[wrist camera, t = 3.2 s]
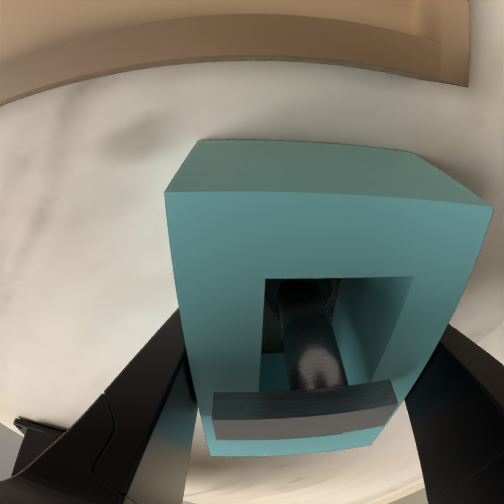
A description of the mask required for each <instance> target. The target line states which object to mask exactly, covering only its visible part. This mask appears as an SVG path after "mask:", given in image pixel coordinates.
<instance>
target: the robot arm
mask: <svg viewBox="0 0 504 504" xmlns="http://www.w3.org/2000/svg"><path fill="white" fill-rule="evenodd" d="M404 400H405V403H406V407H407V411H408V414H409V418H410V422H411V426H412V430H413V434H414V438H415V442H416V446H417V451H418V455H419V460H420V464H421V469H422V474H423V479H424V484H425V489H426V494H427V500H428V504H504V366H503V364H502V363H500V362H499V361H498V360H496V359H495V358H494V357H493V356H491V355H490V354H489V353H487V352H486V351H485V350H483V349H482V348H481V347H479V346H478V345H477V344H475V343H474V342H473V341H471V340H470V339H469V338H467V337H466V336H465V335H463V334H462V333H461V332H459V331H458V330H457V329H455V328H454V327H452V326H451V325H450V324H448V325H447V327H446V329H445V331H444V333H443V335H442V337H441V338H440V340H439V342H438V344H437V346H436V348H435V349H434V351H433V353H432V355H431V357H430V358H429V360H428V362H427V363H426V365H425V367H424V368H423V370H422V372H421V373H420V375H419V377H418V378H417V380H416V382H415V383H414V385H413V386H412V388H411V389H410V391H409V392H408V394H407V396H406V397H405V399H404ZM197 411H198V403H197V398H196V394H195V389H194V385H193V380H192V375H191V370H190V365H189V360H188V355H187V350H186V345H185V339H184V334H183V328H182V322H181V317H180V311H179V308H178V309H177V310H176V311H175V312H174V313H173V314H172V315H171V317H170V318H169V319H168V320H167V321H166V322H165V323H164V324H163V325H162V327H161V328H160V329H159V330H158V331H157V332H156V333H155V334H154V335H153V337H152V338H151V339H150V340H149V341H148V342H147V343H146V344H145V346H144V347H143V348H142V349H141V350H140V351H139V352H138V353H137V355H136V356H135V357H134V358H133V359H132V360H131V361H130V362H129V364H128V365H127V366H126V367H125V368H124V369H123V370H122V371H121V373H120V374H119V375H118V376H117V377H116V378H115V379H114V380H113V382H112V383H111V384H110V385H109V386H108V387H107V388H106V390H105V391H104V394H101V395H100V396H99V397H98V399H97V400H96V401H95V402H94V403H93V404H92V405H91V406H90V407H89V409H88V410H87V411H86V412H85V413H84V414H83V415H82V416H81V417H80V418H79V419H78V420H77V421H76V422H75V423H74V424H73V425H72V426H71V427H70V428H69V429H68V430H67V431H66V432H65V433H64V432H60V431H56V430H52V429H49V428H45V427H42V426H39V425H35V424H32V423H29V422H26V421H23V420H20V419H17V418H15V420H14V423H13V424H14V425H15V426H16V427H17V428H18V429H19V430H20V431H21V432H22V433H23V434H24V438H23V441H22V444H21V447H20V449H19V453H18V456H17V459H16V462H15V465H14V468H13V471H12V475H11V477H10V478H8V479H6V480H3V481H0V504H182V501H183V495H184V488H185V482H186V476H187V470H188V464H189V457H190V451H191V445H192V440H193V434H194V428H195V422H196V416H197Z"/></svg>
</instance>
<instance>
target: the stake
mask: <svg viewBox="0 0 504 504" xmlns="http://www.w3.org/2000/svg"><path fill="white" fill-rule="evenodd" d="M265 293H266V300H267V303H268V305H269V306H270V308H271V309H272V310H273V311H275V312H276V313H278V314H279V315H280V323H281V330H282V338H283V346H284V354H285V362H286V370H287V378H288V386H289V391H270V392H213V405H212V423H213V428H214V432H215V436H216V440H270V439H288V438H301V437H312V436H321V435H330V434H338V433H345V432H351V431H358V430H364V429H370V428H375V427H380V426H384V425H385V424H386V422H387V421H388V419H389V418H390V416H391V415H392V413H393V412H394V410H395V409H396V407H397V406H398V404H399V403H398V400H397V397H396V394H395V392H394V389H393V386H392V383H391V381H390V380H384V381H377V382H370V383H363V384H356V385H349V384H348V380H347V377H346V373H345V369H344V366H343V362H342V359H341V355H340V352H339V348H338V345H337V341H336V338H335V334H334V331H333V327H332V324H331V321H330V317H329V314H328V311H327V307H326V302H327V301H328V299H329V297H330V294H331V283H330V280H329V278H287V279H268V281H267V283H266V288H265Z"/></svg>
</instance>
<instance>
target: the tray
mask: <svg viewBox="0 0 504 504" xmlns="http://www.w3.org/2000/svg"><path fill="white" fill-rule="evenodd" d="M469 59H470V27H469V5H468V0H0V106H2V105H4V104H7V103H10V102H12V101H15V100H18V99H21V98H24V97H27V96H30V95H33V94H36V93H39V92H42V91H46V90H49V89H52V88H56V87H59V86H63V85H67V84H71V83H74V82H78V81H83V80H87V79H91V78H96V77H100V76H105V75H110V74H115V73H121V72H126V71H132V70H138V69H145V68H152V67H160V66H168V65H177V64H188V63H201V62H217V61H290V62H307V63H320V64H330V65H340V66H348V67H356V68H363V69H369V70H376V71H381V72H387V73H392V74H398V75H403V76H407V77H412V78H416V79H421V80H427V81H434V82H440V83H447V84H453V85H458V86H463V87H468V81H469Z"/></svg>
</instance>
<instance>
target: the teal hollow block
mask: <svg viewBox="0 0 504 504" xmlns="http://www.w3.org/2000/svg"><path fill="white" fill-rule="evenodd" d="M164 196H165V206H166V216H167V225H168V233H169V242H170V249H171V257H172V264H173V272H174V279H175V285H176V292H177V298H178V304H179V311H180V317H181V322H182V328H183V334H184V339H185V345H186V350H187V355H188V360H189V365H190V370H191V375H192V380H193V385H194V389H195V394H196V398H197V403H198V407H199V412H200V416H201V420H202V424H203V428H204V432H205V436H206V440H207V444H208V448H209V452H210V456H279V455H295V454H307V453H318V452H326V451H334V450H342V449H349V448H355V447H361V446H367V445H371V444H372V443H373V441H374V440H375V439H376V438H377V436H378V435H379V434H380V432H381V431H382V430H383V428H384V427H385V426H386V424H387V423H388V422H389V420H390V419H391V417H392V416H393V415H394V413H395V412H396V410H397V409H398V407H399V406H400V404H401V403H402V402H403V400H404V399H405V397H406V396H407V394H408V392H409V391H410V389H411V388H412V386H413V385H414V383H415V382H416V380H417V378H418V377H419V375H420V373H421V372H422V370H423V368H424V367H425V365H426V363H427V362H428V360H429V358H430V357H431V355H432V353H433V351H434V349H435V348H436V346H437V344H438V342H439V340H440V338H441V337H442V335H443V333H444V331H445V329H446V327H447V325H448V323H449V321H450V319H451V317H452V315H453V313H454V311H455V309H456V307H457V304H458V302H459V300H460V298H461V296H462V293H463V291H464V289H465V287H466V284H467V282H468V280H469V277H470V275H471V272H472V270H473V267H474V265H475V262H476V260H477V257H478V254H479V252H480V249H481V246H482V243H483V241H484V238H485V235H486V232H487V229H488V226H489V223H490V219H491V216H492V213H493V210H494V207H493V206H491V205H490V204H489V203H487V202H486V201H485V200H483V199H482V198H481V197H479V196H478V195H476V194H475V193H474V192H472V191H471V190H469V189H468V188H467V187H465V186H464V185H462V184H461V183H459V182H458V181H456V180H455V179H453V178H452V177H450V176H449V175H447V174H446V173H444V172H443V171H441V170H439V169H438V168H436V167H435V166H433V165H431V164H430V163H428V162H427V161H425V160H423V159H422V158H420V157H418V156H417V155H415V154H413V153H411V152H405V151H397V150H390V149H382V148H373V147H364V146H354V145H343V144H331V143H317V142H301V141H277V140H198V141H197V143H196V144H195V146H194V147H193V149H192V150H191V152H190V153H189V155H188V156H187V158H186V159H185V161H184V162H183V164H182V165H181V167H180V168H179V170H178V171H177V173H176V174H175V176H174V178H173V179H172V181H171V182H170V184H169V185H168V187H167V189H166V190H165V192H164ZM287 278H341V282H340V287H339V291H338V296H337V300H336V305H335V309H334V313H333V317H332V321H331V324H332V327H333V331H334V334H335V338H336V341H337V345H338V348H339V352H340V355H341V359H342V362H343V366H344V369H345V373H346V377H347V380H348V384H349V385H356V384H363V383H370V382H377V381H384V380H390V381H391V383H392V386H393V389H394V392H395V394H396V397H397V400H398V403H399V404H398V406H397V407H396V409H395V410H394V412H393V413H392V415H391V416H390V418H389V419H388V421H387V422H386V424H385V425H384V426H380V427H375V428H370V429H364V430H358V431H351V432H345V433H338V434H330V435H321V436H312V437H301V438H288V439H270V440H216V436H215V432H214V428H213V423H212V405H213V392H270V391H289V386H288V378H287V370H286V362H285V354H284V353H261V344H262V327H263V310H264V292H265V279H287Z"/></svg>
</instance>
